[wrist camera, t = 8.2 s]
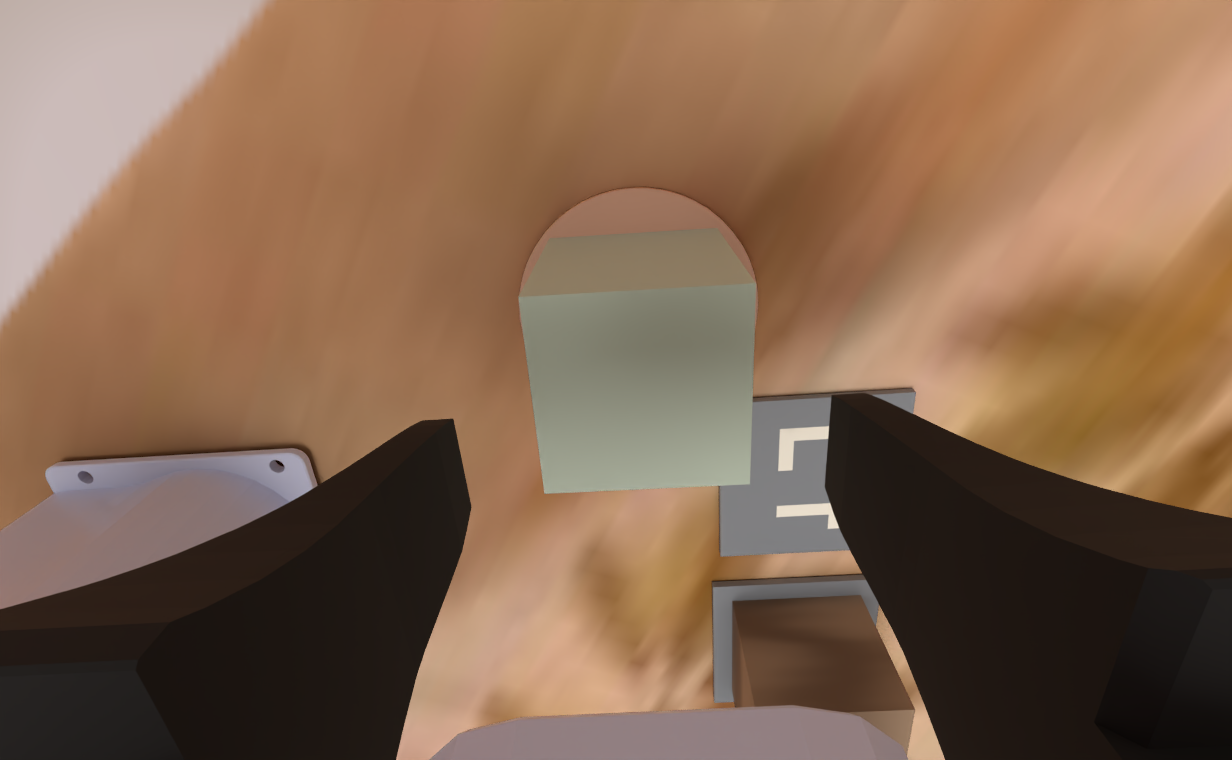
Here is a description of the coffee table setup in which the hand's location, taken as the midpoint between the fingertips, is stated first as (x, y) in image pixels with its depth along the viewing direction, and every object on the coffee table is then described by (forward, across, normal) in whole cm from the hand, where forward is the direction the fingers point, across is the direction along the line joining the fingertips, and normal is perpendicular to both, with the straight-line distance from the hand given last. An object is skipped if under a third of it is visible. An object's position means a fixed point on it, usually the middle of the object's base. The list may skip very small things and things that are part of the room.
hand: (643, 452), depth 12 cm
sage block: (+8, 0, 0) cm, 8 cm away
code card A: (+9, -6, +7) cm, 12 cm away
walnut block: (+8, -6, +15) cm, 18 cm away
